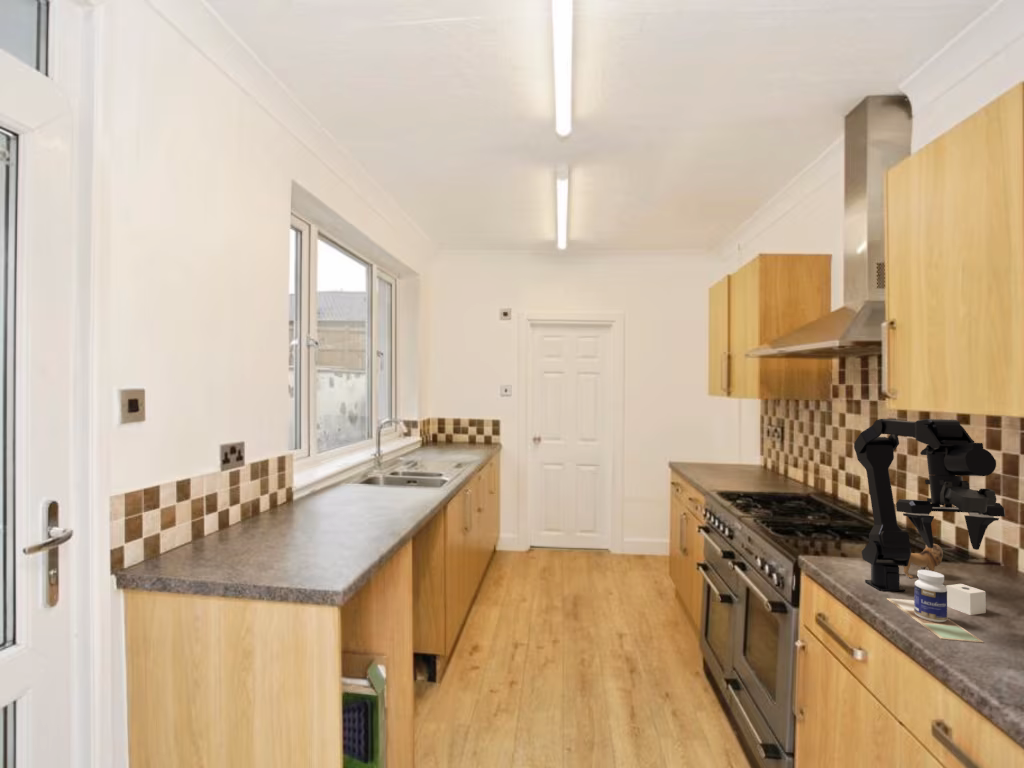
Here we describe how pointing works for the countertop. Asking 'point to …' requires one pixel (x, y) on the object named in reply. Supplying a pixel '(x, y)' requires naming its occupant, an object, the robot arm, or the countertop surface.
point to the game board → (936, 624)
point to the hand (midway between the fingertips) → (953, 548)
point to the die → (966, 599)
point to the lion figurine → (925, 559)
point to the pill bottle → (930, 596)
